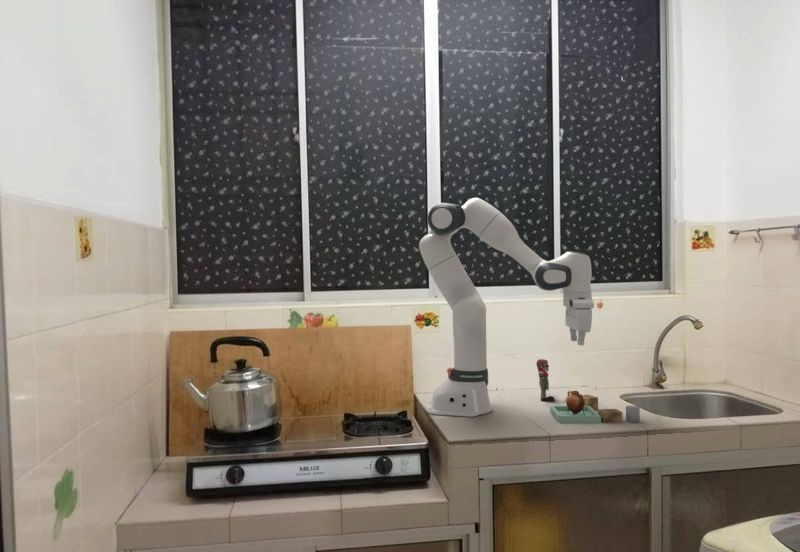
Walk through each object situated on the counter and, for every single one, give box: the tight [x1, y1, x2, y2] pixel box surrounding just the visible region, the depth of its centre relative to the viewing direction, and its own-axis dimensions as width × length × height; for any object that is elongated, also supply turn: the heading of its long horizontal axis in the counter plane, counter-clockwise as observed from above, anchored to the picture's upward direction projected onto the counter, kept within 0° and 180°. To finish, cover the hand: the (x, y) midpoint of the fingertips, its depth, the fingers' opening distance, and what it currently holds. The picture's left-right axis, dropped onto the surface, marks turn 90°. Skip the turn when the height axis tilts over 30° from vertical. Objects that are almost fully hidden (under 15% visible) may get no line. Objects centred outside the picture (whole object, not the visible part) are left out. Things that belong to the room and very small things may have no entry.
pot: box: [565, 390, 585, 415], centre depth 175 cm, size 6×8×6 cm
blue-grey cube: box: [625, 405, 641, 424], centre depth 170 cm, size 4×4×4 cm
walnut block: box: [597, 408, 623, 424], centre depth 171 cm, size 6×4×4 cm, turn 96°
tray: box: [549, 404, 602, 424], centre depth 176 cm, size 13×13×2 cm
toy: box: [536, 358, 556, 403], centre depth 198 cm, size 18×6×15 cm, turn 168°
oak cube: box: [582, 394, 599, 412], centre depth 185 cm, size 4×4×4 cm
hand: (577, 343), depth 178 cm, fingers open, 8 cm apart
